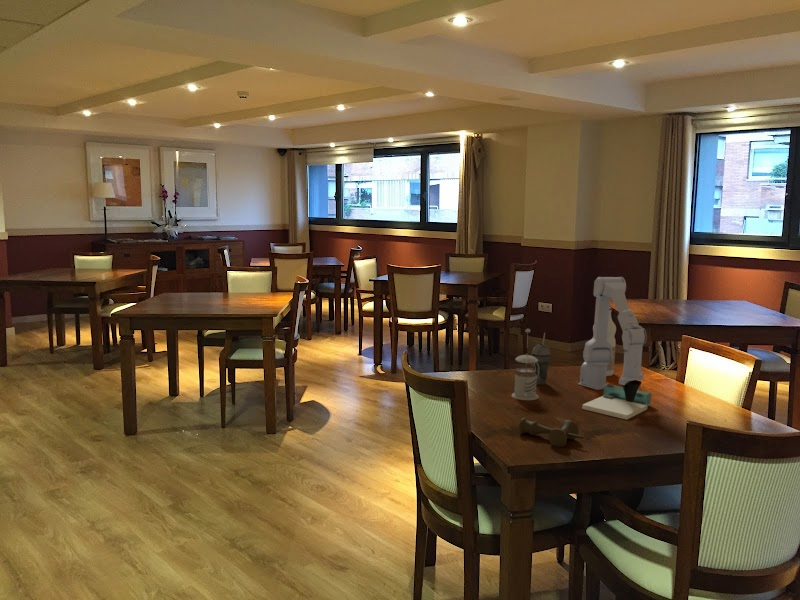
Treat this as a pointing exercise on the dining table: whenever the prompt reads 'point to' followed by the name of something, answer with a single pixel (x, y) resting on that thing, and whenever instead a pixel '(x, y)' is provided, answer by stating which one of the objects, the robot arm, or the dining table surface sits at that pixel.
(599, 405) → the stool seat
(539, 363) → the beverage cup
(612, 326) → the fruit juice
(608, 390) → the dark green rectangular beam
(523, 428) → the kendama
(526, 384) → the french press
